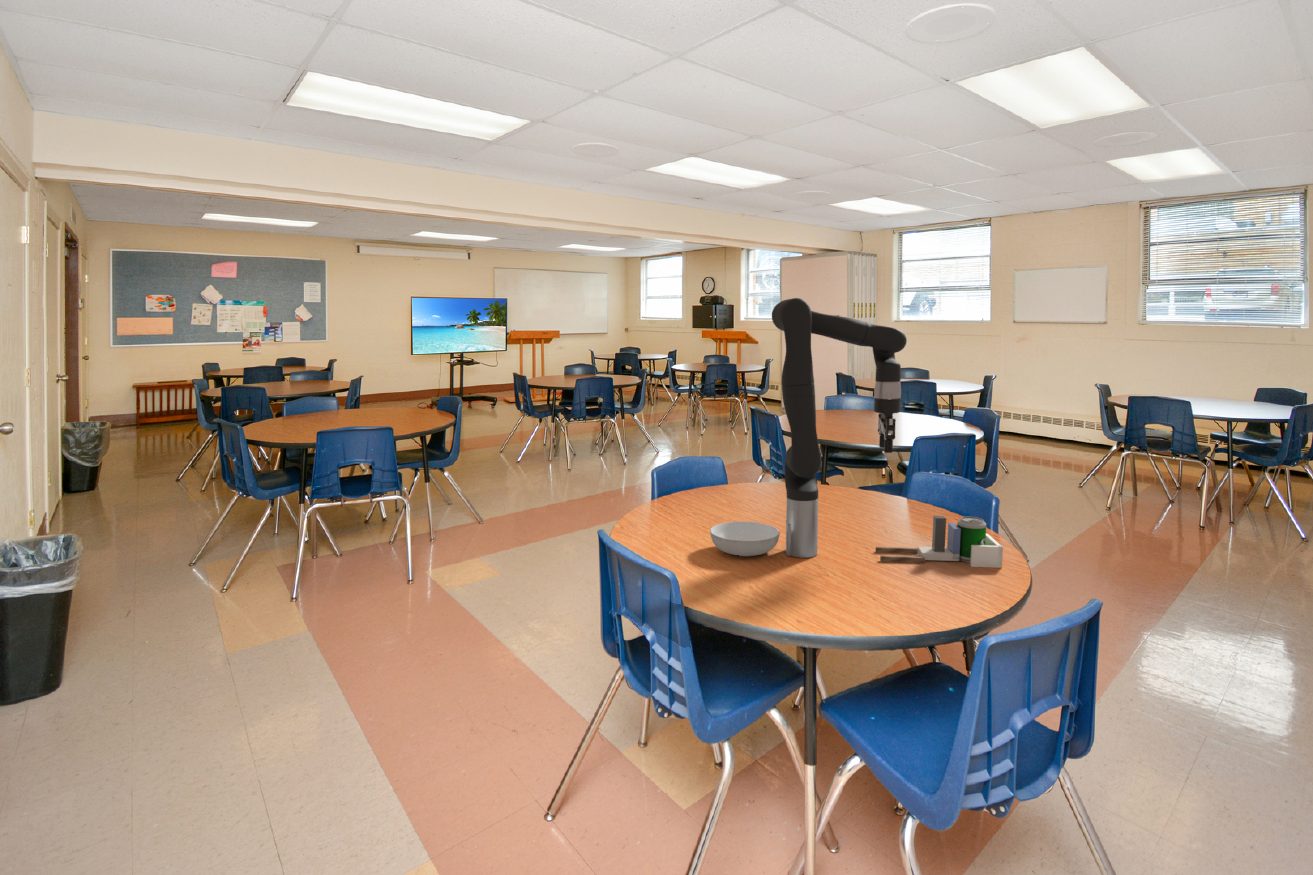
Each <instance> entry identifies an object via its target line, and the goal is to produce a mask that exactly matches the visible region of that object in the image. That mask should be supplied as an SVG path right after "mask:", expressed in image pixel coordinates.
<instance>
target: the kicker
mask: <svg viewBox="0 0 1313 875" xmlns="http://www.w3.org/2000/svg"><path fill="white" fill-rule="evenodd" d="M932 517H933V519H932V537H931V539H932V540H931V541H932V542H931V543H932V544H931V546H917V548H918V554H917V555H918V557H924V558H925V561H942V562H943V561H946V562H947V561H948V562H953V561H954V562H959V561H960V559H959V554H960V535H961V529H960V528H959V527H958V526H957V524H956V523H955V522H948V523H947V518H946V517H945V516H944V515H933V516H932ZM946 528H947V529H946ZM946 530H947V534H946ZM946 535H947V537H946ZM946 540H947V541H946ZM946 542H947V543H946Z"/></svg>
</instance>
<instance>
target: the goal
mask: <svg viewBox="0 0 1313 875" xmlns="http://www.w3.org/2000/svg"><path fill="white" fill-rule="evenodd" d="M1003 555H1004V546H1003V545H1001V544H1000V543H999V542H998V541H997V540H996V539H994V538H993V537H992V536H991V535H990V534H989V533H987V532H986V539H985V545H971V560H970V565H969V567H971V568H998V569H1001V568H1003Z"/></svg>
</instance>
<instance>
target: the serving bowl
mask: <svg viewBox="0 0 1313 875" xmlns="http://www.w3.org/2000/svg"><path fill="white" fill-rule="evenodd" d="M709 533H710V534H709V535H710V538H711V541H712V543H713V545H714V546H715V547H716V548H717V549H718V550H720V551H721V552H723V553H727V554H729V555H733V556H737V555H739V556H738V557H754V556H759V555H764V554H766V553H769V552H770V551H772V550H773V549H774V548H775V547H776V545H777V544H778V541H779V538H780V534H781V532H780V530H779V529H778V528H777V527H775V526H773V525H770V524H767V523H761V522H757V521H756V522H755V521H744V520H743V521H729V522H728V521H727V522H721V523H718V524H716V525H714V526H711V528H710V529H709Z"/></svg>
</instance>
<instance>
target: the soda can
mask: <svg viewBox="0 0 1313 875" xmlns="http://www.w3.org/2000/svg"><path fill="white" fill-rule="evenodd" d="M956 525H957V526H958V527H959V528H960V529H961V535H960V554H959V561H961V562H965V563H970V560H971V545H985V539H986V533H987V523H986V522H985V521H984V519H983V518H980V517H977V516H962V517H961V518H960V519H959V520H957V524H956Z"/></svg>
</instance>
